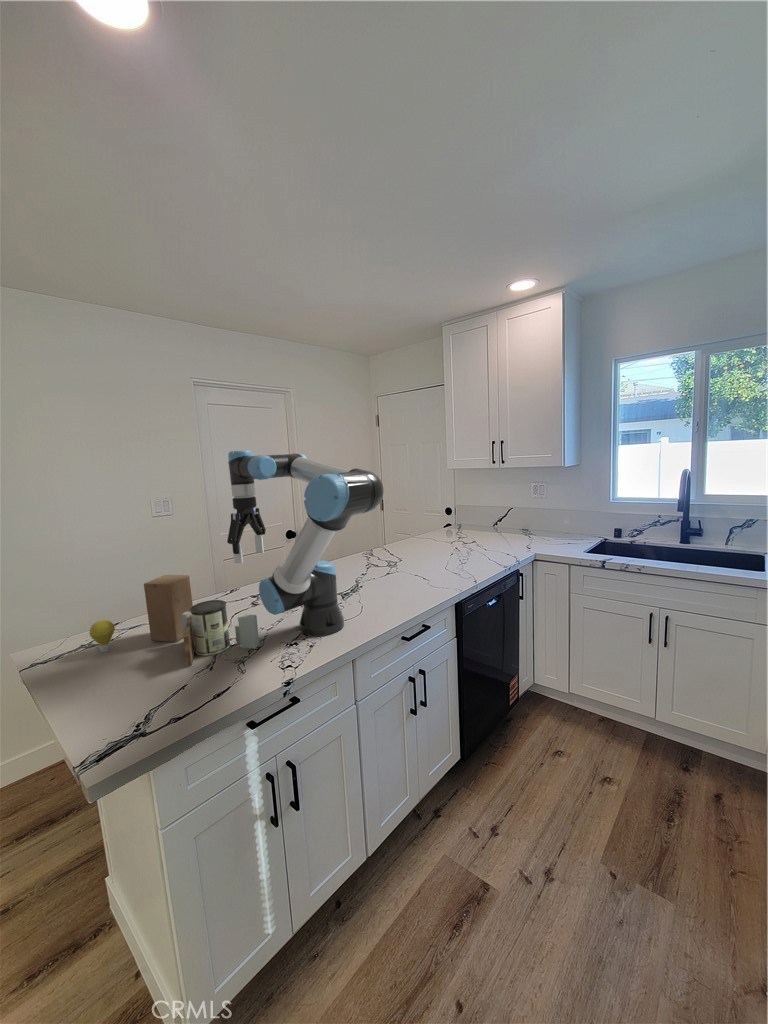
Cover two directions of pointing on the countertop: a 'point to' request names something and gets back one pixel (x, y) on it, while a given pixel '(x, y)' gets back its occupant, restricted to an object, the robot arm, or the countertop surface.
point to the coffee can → (210, 627)
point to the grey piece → (239, 630)
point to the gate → (189, 641)
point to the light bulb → (102, 634)
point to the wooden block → (167, 606)
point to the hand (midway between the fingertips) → (249, 557)
